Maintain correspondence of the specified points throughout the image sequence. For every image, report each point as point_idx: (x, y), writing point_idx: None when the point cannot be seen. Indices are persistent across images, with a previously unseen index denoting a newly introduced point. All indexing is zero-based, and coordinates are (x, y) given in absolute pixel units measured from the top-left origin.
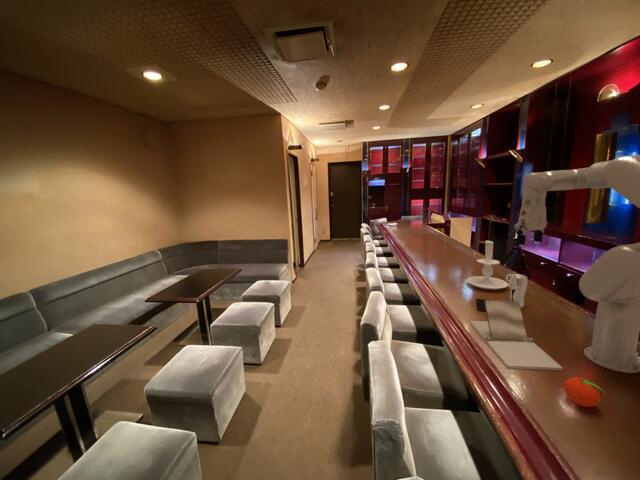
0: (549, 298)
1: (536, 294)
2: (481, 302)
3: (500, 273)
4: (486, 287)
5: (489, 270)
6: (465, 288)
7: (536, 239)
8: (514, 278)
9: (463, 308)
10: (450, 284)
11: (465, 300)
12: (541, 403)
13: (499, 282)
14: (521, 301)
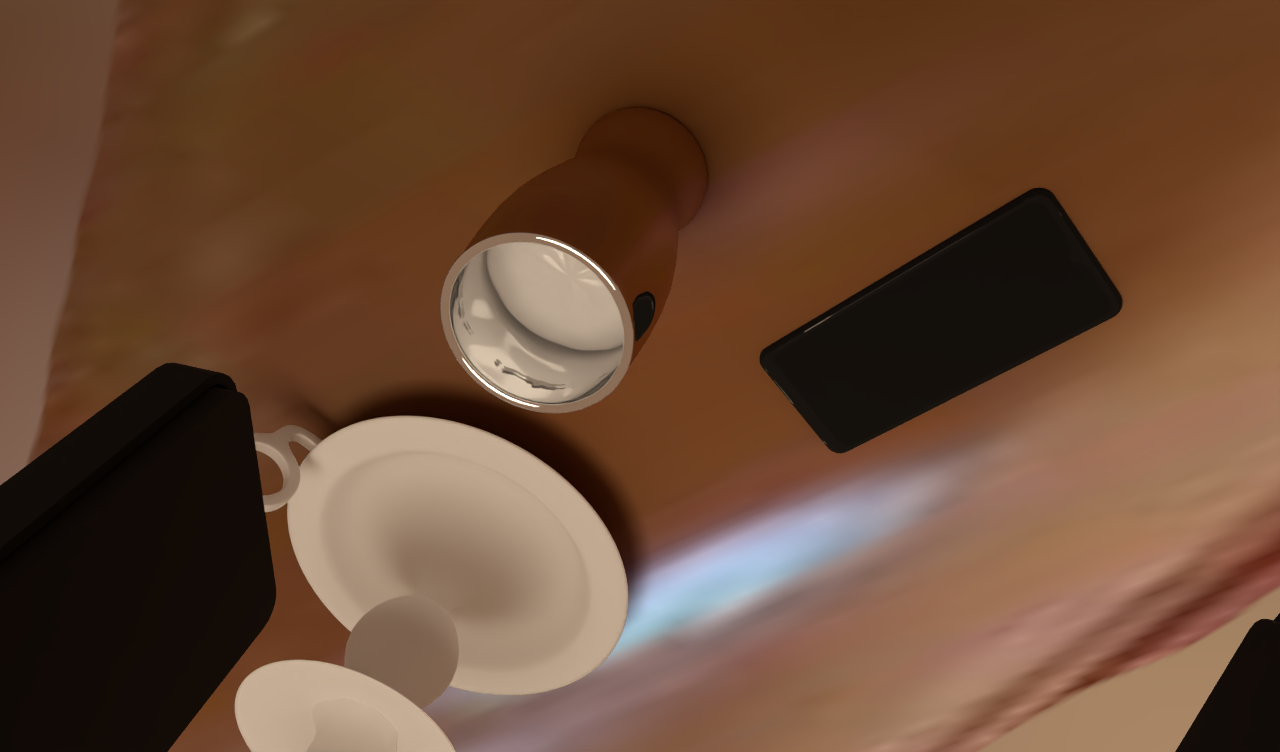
0: (202, 89)
1: (228, 206)
2: (888, 384)
3: None
4: (589, 509)
5: (413, 646)
6: (671, 615)
7: (214, 577)
8: (636, 327)
9: (1174, 411)
10: (699, 721)
11: (950, 492)
12: None
13: (341, 504)
14: (638, 140)
